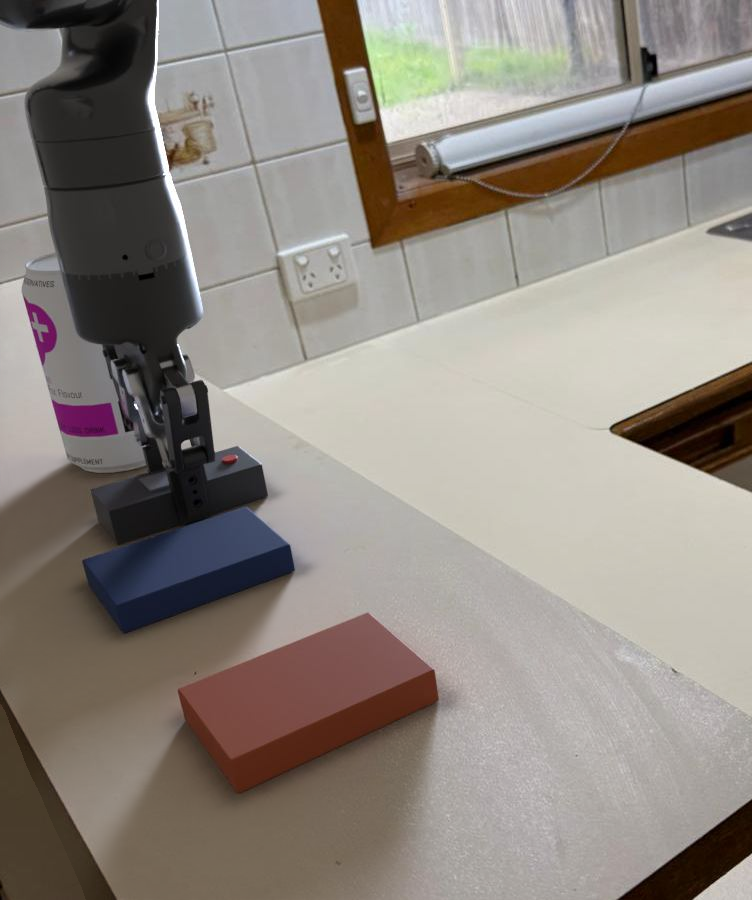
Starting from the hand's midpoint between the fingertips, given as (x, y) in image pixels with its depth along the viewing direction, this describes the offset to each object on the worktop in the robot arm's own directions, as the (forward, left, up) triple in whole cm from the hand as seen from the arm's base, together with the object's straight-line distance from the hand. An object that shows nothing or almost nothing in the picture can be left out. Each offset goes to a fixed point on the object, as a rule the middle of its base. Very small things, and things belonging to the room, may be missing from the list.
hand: (183, 504), depth 76 cm
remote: (0, 0, 0) cm, 0 cm away
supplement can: (-10, +8, 0) cm, 13 cm away
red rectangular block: (+19, -19, 0) cm, 27 cm away
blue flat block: (+6, -8, 0) cm, 10 cm away
